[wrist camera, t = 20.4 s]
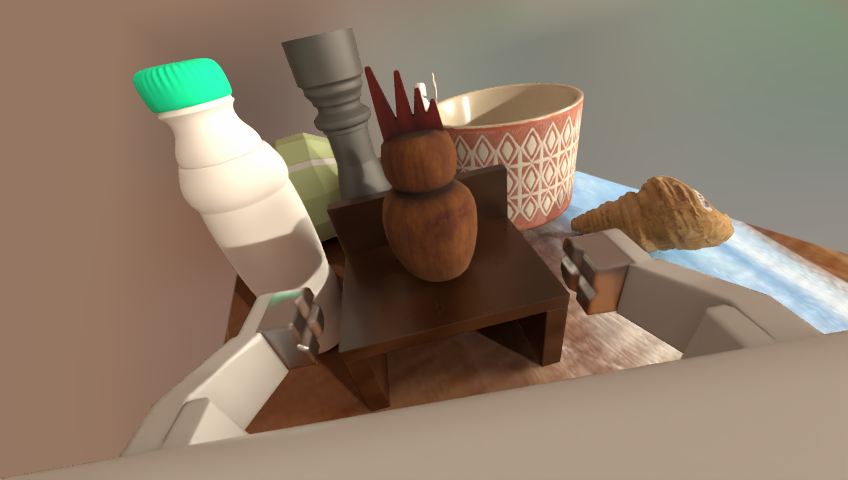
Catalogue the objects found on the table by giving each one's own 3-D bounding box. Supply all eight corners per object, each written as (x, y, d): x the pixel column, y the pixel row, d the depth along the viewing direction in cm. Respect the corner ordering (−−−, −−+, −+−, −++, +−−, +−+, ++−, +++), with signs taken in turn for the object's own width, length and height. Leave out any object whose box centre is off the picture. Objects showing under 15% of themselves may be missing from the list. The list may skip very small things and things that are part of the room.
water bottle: (365, 307, 34) (258, 46, 20) (334, 364, 29) (157, 63, 14) (312, 301, 36) (182, 63, 22) (275, 353, 31) (70, 83, 17)
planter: (524, 261, 36) (526, 134, 27) (413, 217, 48) (392, 121, 40) (593, 191, 45) (611, 81, 37) (486, 169, 58) (481, 84, 49)
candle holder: (423, 259, 39) (370, 24, 25) (397, 292, 35) (316, 34, 21) (384, 250, 42) (317, 36, 28) (356, 280, 38) (261, 47, 24)
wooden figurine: (388, 286, 24) (318, 78, 16) (414, 243, 29) (370, 60, 20) (471, 298, 22) (443, 59, 13) (486, 249, 26) (473, 42, 17)
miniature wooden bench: (370, 411, 25) (308, 300, 17) (368, 304, 34) (327, 203, 27) (560, 362, 25) (579, 233, 18) (504, 270, 35) (502, 163, 28)
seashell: (581, 261, 40) (580, 274, 33) (565, 201, 40) (560, 202, 33) (719, 236, 33) (753, 246, 26) (698, 165, 34) (728, 156, 27)
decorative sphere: (387, 237, 45) (356, 135, 36) (283, 277, 41) (222, 174, 33) (362, 199, 57) (335, 115, 48) (280, 227, 53) (235, 142, 44)
